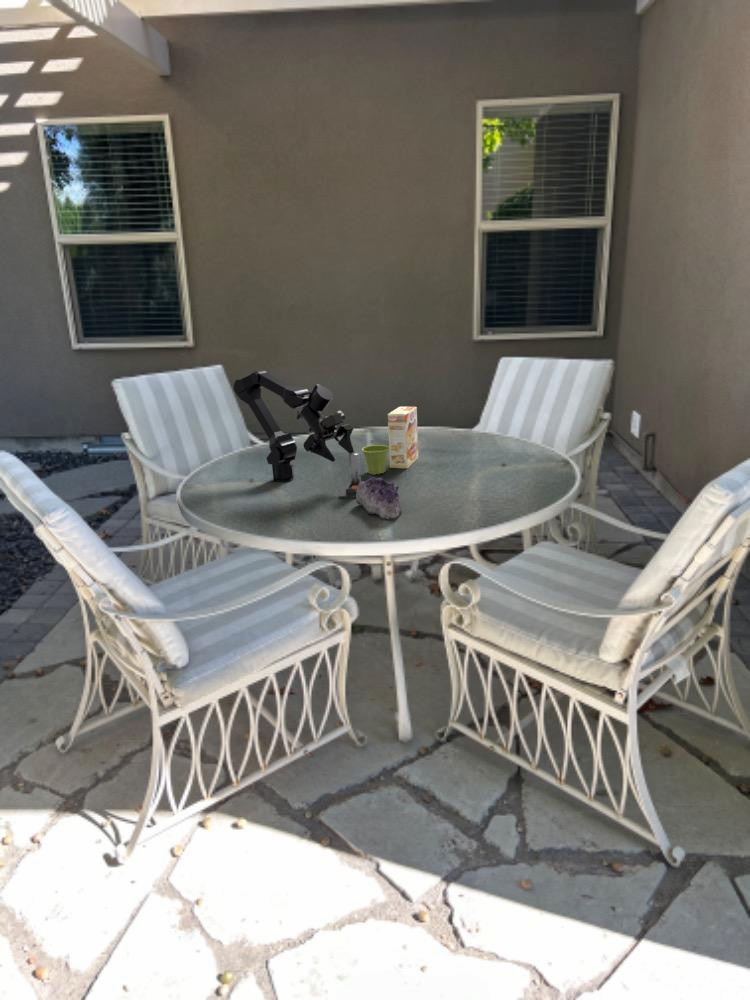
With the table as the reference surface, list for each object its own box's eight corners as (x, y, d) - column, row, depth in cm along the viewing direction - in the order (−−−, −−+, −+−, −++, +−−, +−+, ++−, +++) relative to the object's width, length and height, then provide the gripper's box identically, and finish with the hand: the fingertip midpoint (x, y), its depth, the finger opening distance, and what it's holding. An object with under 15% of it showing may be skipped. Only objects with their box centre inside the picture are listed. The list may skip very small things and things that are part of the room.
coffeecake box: (408, 468, 245) (406, 414, 239) (388, 468, 247) (386, 414, 241) (419, 458, 258) (417, 406, 252) (401, 457, 261) (398, 405, 255)
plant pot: (387, 476, 237) (386, 451, 234) (360, 476, 239) (359, 451, 236) (392, 468, 246) (391, 445, 243) (366, 468, 248) (365, 445, 245)
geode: (416, 516, 197) (411, 484, 193) (379, 528, 194) (373, 496, 190) (388, 495, 215) (383, 465, 211) (354, 505, 211) (348, 475, 208)
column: (350, 492, 218) (347, 455, 215) (351, 489, 222) (349, 452, 218) (361, 492, 218) (358, 455, 214) (362, 488, 221) (360, 452, 218)
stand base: (338, 498, 216) (337, 488, 215) (343, 489, 226) (342, 479, 224) (370, 498, 215) (369, 487, 214) (373, 488, 224) (373, 478, 223)
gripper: (306, 409, 211) (336, 448, 207) (346, 399, 224) (375, 435, 221) (291, 432, 218) (319, 470, 215) (331, 421, 232) (358, 456, 228)
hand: (344, 457), depth 219 cm, fingers open, 9 cm apart
